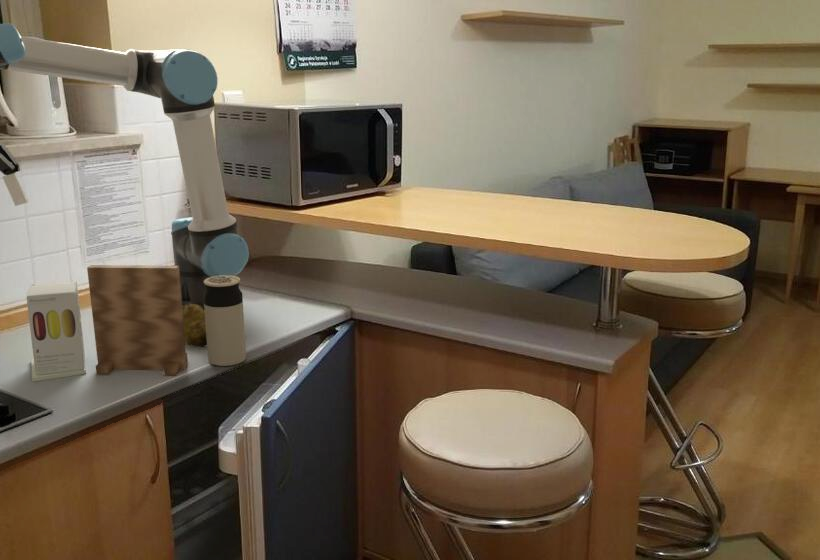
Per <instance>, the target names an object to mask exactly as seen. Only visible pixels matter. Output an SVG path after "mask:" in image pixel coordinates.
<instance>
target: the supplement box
mask: <svg viewBox="0 0 820 560" xmlns="http://www.w3.org/2000/svg"><path fill="white" fill-rule="evenodd" d="M79 298H80V297H79V289H78V281H77V280H72V281H64V282H63V281H62V282H50V283H49V282H48V283H38V284H37V283H36V284H35V283H32V284H29V285H28V290H27V293H26V304H27V311H28V314H27V315H28V322H29V329H30V338H31V339H30V340H31V349H32V355H33V358H34V365H35V373H36V375H39V374H47V373H56V372H64V371H73V370H82V369H84V366H85V367H86V365H85V364H86V363H85V361H86V359H85V358H86V356H85V354H86V353H85V346H84V345H85V343H84V336H83V326H82V321H81V320H82V315H81V309H80V307H81V306H80V300H79Z"/></svg>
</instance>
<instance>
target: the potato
mask: <svg viewBox="0 0 820 560" xmlns="http://www.w3.org/2000/svg"><path fill="white" fill-rule="evenodd" d="M182 309H183V322H184V334H185V344H187V345H189V346H192V347H200V348H201V347H207V338H206V324H205V310H203V308H202V307H201V306H199V305H197V304H186V305H184V306H182Z"/></svg>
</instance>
